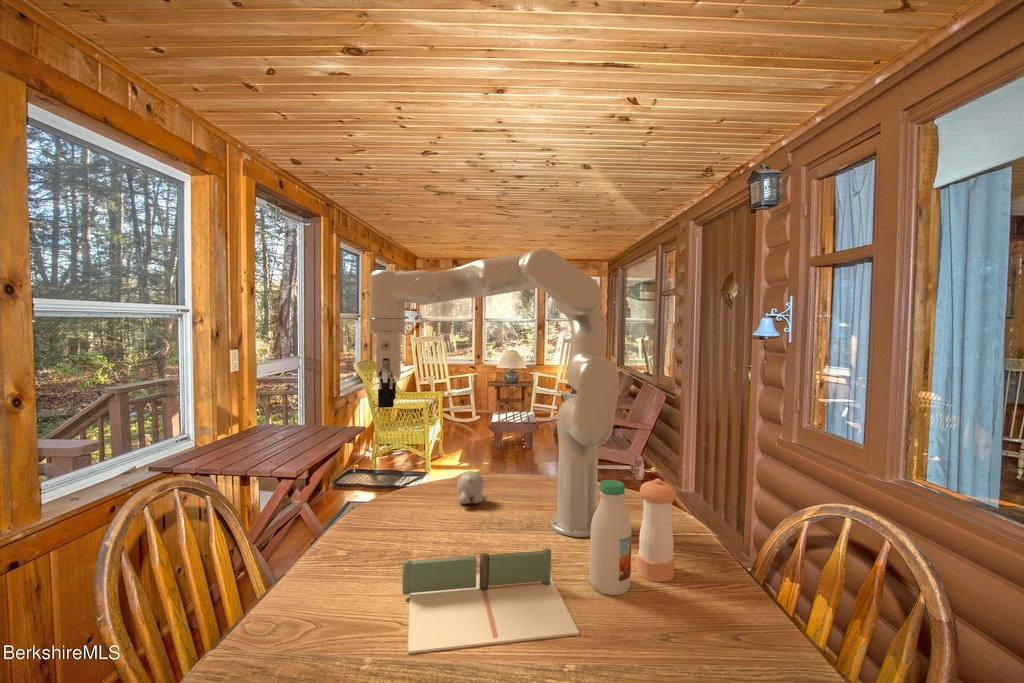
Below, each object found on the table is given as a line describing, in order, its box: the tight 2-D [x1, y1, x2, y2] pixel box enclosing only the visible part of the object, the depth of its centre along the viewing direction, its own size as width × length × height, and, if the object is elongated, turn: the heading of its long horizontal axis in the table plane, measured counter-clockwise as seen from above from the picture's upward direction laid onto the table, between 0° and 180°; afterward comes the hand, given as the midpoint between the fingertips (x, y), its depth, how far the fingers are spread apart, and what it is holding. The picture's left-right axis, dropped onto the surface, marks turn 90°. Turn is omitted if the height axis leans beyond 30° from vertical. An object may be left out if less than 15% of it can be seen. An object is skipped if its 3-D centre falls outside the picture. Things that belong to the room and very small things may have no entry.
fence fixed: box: [479, 547, 552, 591], centre depth 92 cm, size 14×2×7 cm, turn 101°
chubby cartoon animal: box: [456, 470, 485, 505], centre depth 135 cm, size 7×12×8 cm, turn 8°
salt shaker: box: [636, 477, 677, 583], centre depth 98 cm, size 7×7×19 cm
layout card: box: [407, 574, 580, 655], centre depth 86 cm, size 27×20×1 cm
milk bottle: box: [588, 479, 632, 596], centre depth 93 cm, size 8×8×20 cm
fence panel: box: [401, 555, 478, 596], centre depth 89 cm, size 13×2×6 cm, turn 101°
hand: (387, 403), depth 109 cm, fingers open, 9 cm apart
